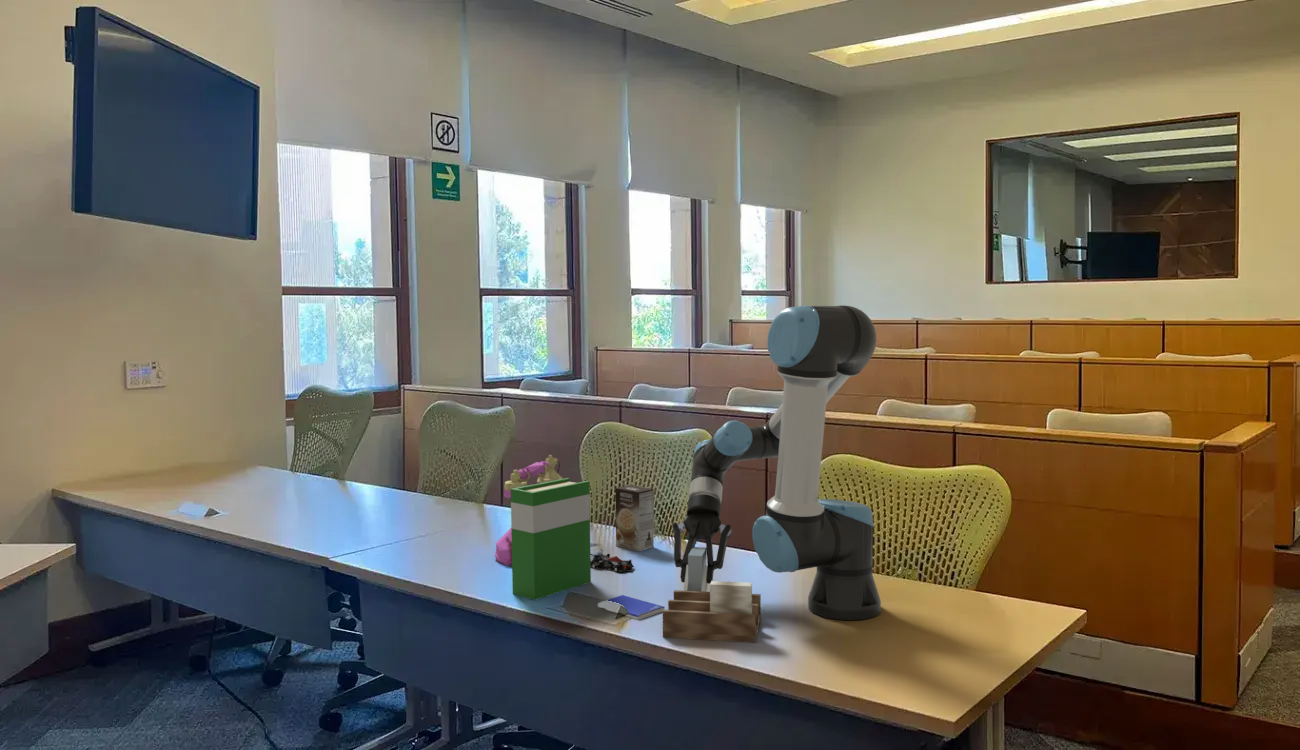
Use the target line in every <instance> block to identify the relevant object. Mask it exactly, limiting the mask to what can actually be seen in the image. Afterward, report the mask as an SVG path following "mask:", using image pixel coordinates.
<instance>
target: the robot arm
mask: <svg viewBox="0 0 1300 750" xmlns="http://www.w3.org/2000/svg"><path fill="white" fill-rule="evenodd" d="M768 329H769V330H768V333H767V338H766V339H767V340H766V344H767V345H766V347H767V352H769V357H770V359H771V361H772V362H773V363H774V364H775V365H776V366H777V374H778V375H779V376H780V377H781V378H782V380H783V392H782V394H783V395H782V403H781V405H779V407H778V408H777V409H776V411H775V412H774V414H773V415H772V416H771V417H770V418H769V419H768V421H767V422H766V423H765V424H764V425H758V426H757V425H755V426H748V425H746V423H744V422H741V421H738V420H734V419H733V420H728V421H727V422H725V423H724V424H723V425H722V426H720V428H718V430H716V432H715V434H714V435H713V436H712V437H711V438H710V439H704V440H703V441H699V442H698V443H697V444H696V446H695V447H694V453H693V455H692V467H691V475H690V485H689V491H688V492H689V493H688V501H687V502H688V503H687V510H686V516H685V518H684V519H683V521H682V522H679V523H677V522H673V523H672V524H671V526H672V530H673V534H674V539H673V540H674V541H673V543H674V546H673V561H674V565H675V567H676V568H681V569H680V582H681V583H684V584H683V585H684V586H683V591H688V554H689V553H690V551H691V549H692V548H693V547H696V545H697V541H698V540H699V541H700V540H703V541H705V546H706V547H705V548H706V554H707V566H706V565H704V569H703V579H702V588H701V591H703V592H708V591H707V589H708V585H710V583H711V581H714V572H715V570H717V569H718V570H722V569H723V567H724V561H725V555H726V551H727V546H728V540H729V538H730V537H731V536H732V533H733V532H732V526H731V525H730V524H723V523H722V520H721V512H722V511H721V509H722V504H721V503H722V499H723V490H724V489H723V488H724V478H725V474H726V473H727V471H728V470H729V469H731V467H732V466H733V465H734V464H735V463H737V462H743V461H750V460H751V461H752V460H760V459H769V458H770V459H771V458H777V466H776V479H775V492H774V496H772V497H771V498H770V499H768V500H767V502H766V510H765V515H762V516H759V517H758V518H756V521H754V524H753V526H752V534H751V535H752V542H753V547H754V550H755V552H756V554H757V555H758V558H759V560H760V562H761V563H762V564H763V565H764V566H765V567H766V568H767V569H768V570H770V571H771V572H774V573H778V574H779V573H795V572H796V571H801V570H807V569H812V568H813V569H814V568H816V573H815V576H814V578H813V582H812V584H811V588H810V591H809V594H808V597H807V598H808V600H807V602H808V605H807V606H808V610H809V611H810V612H811V613H813V614H815V615H817V616H820V617H824V618H828V619H832V620H833V619H834V620H841V621H842V620H844V621H859V620H867V619H871V618H874V617H876V616H878V615H880V614H881V609H882V608H881V607H882V601H881V597H880V595H879V591H878V588H877V585H876V582H875V577H874V574H873V573H874V572H873V565H874V564H873V561H874V560H873V556H874V555H873V554H874V552H873V551H874V550H873V549H874V547H873V546H874V528H875V527H874V525H875V524H874V523H873V522H874V521H873V519H874V517H873V511H872V509H871V508H870V507H869V506H868V505H866V504H864V503H860V502H856V501H852V500H851V501H850V500H843V499H836V498H835V499H834V498H833V499H831V498H820V499H819V498H818V497H819V488H820V479H821V478H820V476H821V468H822V467H821V466H822V465H821V464H822V453H823V444H824V434H825V433H824V432H825V423H826V421H825V420H826V410H827V404H828V402H830V400H831V399H832V398H833V397H834V396H835V394H836V393H837V392H838V391H839V390H840V388H841V387H842V386H843V385H845V383H846V382H847V380H848V379H849V378H850V377H855V376H858V375H859V374H861V372H862V370H863V369H864V368H866V366H867V365H868V363H869V362H870V360H871V358H872V357H873V355H874V353H875V350H876V346H877V331H876V328H875V326H874V323H873V321H872V320H871V318H870V317H869V316H868V315H867V313H866V312H864V311H863V310H861V309H859V308H857V307H855V306H851V305H805V304H804V305H803V304H802V305H799V306H790V307H787V308H784V309H783V310H781V311H780V312H779V313H778V314H777V315H776V316H775V317H774V318H773V320H772V322H771V324H770V327H769V328H768ZM684 529H685V530H686V532H687V533H688V540H687V542H686V543H687V544H686V546H685V550H684V552H683V557H682V534H683V532H684ZM719 531H720V532H719ZM718 532H719V533H720V538H719V544H718V549H717V554H716V558H715V560H714V549H713V537H714V536H715V535H716V534H717V533H718Z"/></svg>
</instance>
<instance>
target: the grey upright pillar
mask: <svg viewBox="0 0 1300 750" xmlns="http://www.w3.org/2000/svg"><path fill="white" fill-rule="evenodd" d="M704 565H706V566H708V564H707V550H706V547H704V546H703V547H700V546H695V547H693V548H692V549H691V551H690V553H689V554H688V591H701V588H702V579H703V569H704Z"/></svg>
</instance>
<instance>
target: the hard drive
mask: <svg viewBox="0 0 1300 750" xmlns="http://www.w3.org/2000/svg"><path fill="white" fill-rule="evenodd" d="M607 600H608V601H612V602H616V603H619V604H621V605H623V606H624V607H625V608H626V609H627V611H628V612H627V613H628V616H629V617H628V618H630V617H631V619H634V620H637V621H639V620H642V619H644V618H645V619H646V618H647V617H651V616H654V615H656V614H658V613H663V610H666V609H665V606H664V605H660V604H658V603H652V602H649V601H646V600H642V599H639V598H636V597H635V598H634V597H631V596H627V595H624V594H621V595H618V596H615V597H612V598H609V599H607Z"/></svg>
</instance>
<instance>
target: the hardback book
mask: <svg viewBox="0 0 1300 750" xmlns="http://www.w3.org/2000/svg"><path fill="white" fill-rule="evenodd" d="M590 502H591V499H590V481H588V480H585V481H580V482H574V481H573V482H572V481H571V478H570V477H566V478H564V479H559V480H554V481H549V482H544V483H536V484H535V483H534V484H529V485H528V484H527V486H523V487H518V488H513V489H511V498H510V518H511V519H510V523H511V524H510V528H511V533H512V567H511V570H512V571H511V574H512V575H511V576H512V577H511V578H512V582H511V583H512V594H513V595H517V596H520V597H523V598H525V599H526V598H527V599H528V600H534V601H536V600H539V599H542V598H545V597H546V598H547V597H548V596H553V595H556V594H557V593H561V592H565V591H567V590H570V589H574V588H577V587H581V586H584V585H586V584H591V582H592V579H591V578H592V576H591V575H592V574H591V572H592V568H591V561H592V560H591V555H590V553H591V508H590V507H591V503H590Z"/></svg>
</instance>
